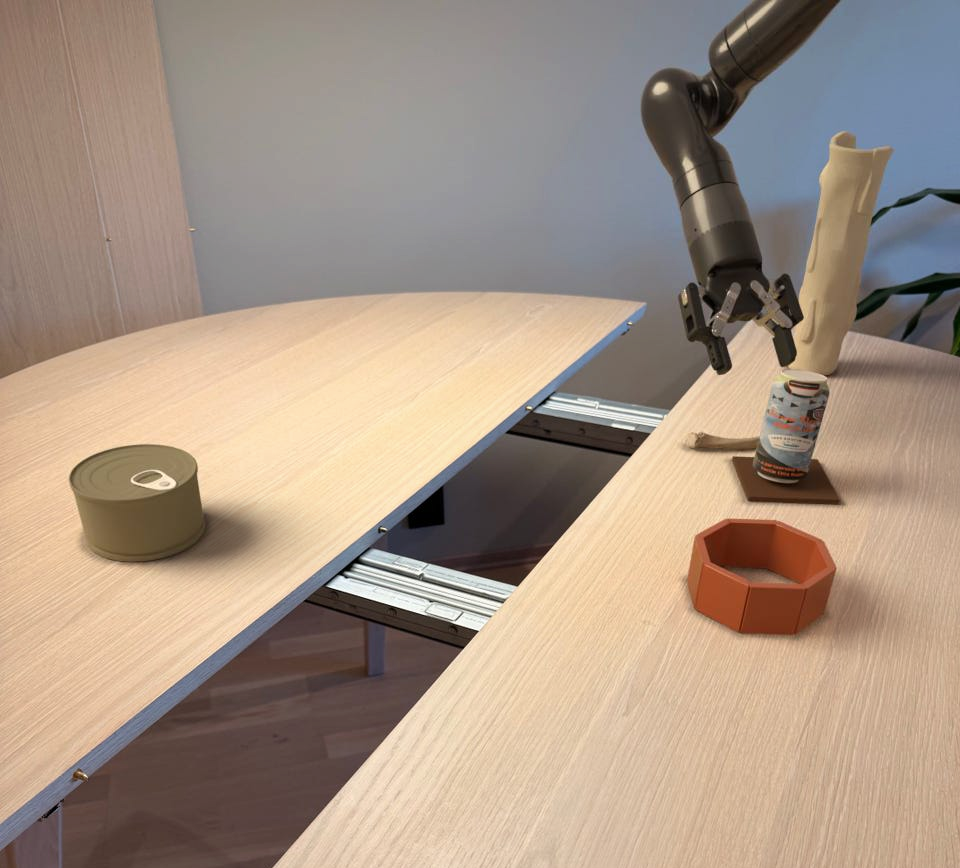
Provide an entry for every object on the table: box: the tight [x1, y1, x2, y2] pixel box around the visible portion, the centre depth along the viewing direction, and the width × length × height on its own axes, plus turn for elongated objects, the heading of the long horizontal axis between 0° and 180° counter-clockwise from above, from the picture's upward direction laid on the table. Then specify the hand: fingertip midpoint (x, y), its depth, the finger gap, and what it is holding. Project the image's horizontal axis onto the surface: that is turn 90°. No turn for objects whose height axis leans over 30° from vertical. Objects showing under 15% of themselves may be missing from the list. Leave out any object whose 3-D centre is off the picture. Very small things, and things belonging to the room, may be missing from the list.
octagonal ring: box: [686, 518, 838, 636], centre depth 91 cm, size 12×12×5 cm
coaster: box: [731, 455, 841, 505], centre depth 111 cm, size 10×10×1 cm
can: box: [68, 443, 206, 563], centre depth 97 cm, size 12×12×7 cm
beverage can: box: [753, 368, 830, 483], centre depth 108 cm, size 6×7×12 cm
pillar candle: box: [787, 130, 894, 376], centre depth 132 cm, size 9×8×30 cm
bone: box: [685, 431, 760, 450], centre depth 118 cm, size 3×11×2 cm, turn 100°
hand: (757, 368), depth 112 cm, fingers open, 8 cm apart
